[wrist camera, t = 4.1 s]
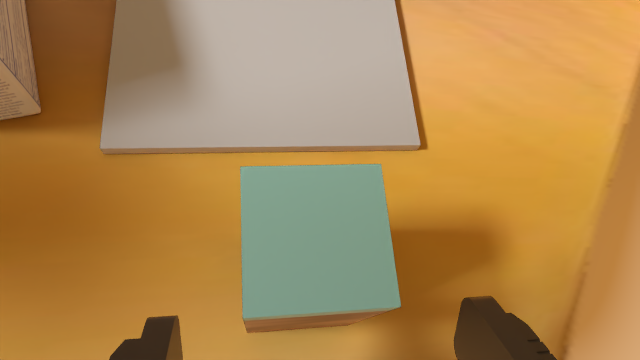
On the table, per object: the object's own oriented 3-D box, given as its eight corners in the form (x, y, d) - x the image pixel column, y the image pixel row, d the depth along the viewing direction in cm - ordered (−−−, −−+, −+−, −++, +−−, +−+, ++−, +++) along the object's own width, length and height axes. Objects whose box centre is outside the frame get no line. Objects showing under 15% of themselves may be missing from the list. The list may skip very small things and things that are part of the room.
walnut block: (247, 333, 19) (242, 317, 12) (245, 233, 21) (240, 166, 14) (347, 325, 20) (400, 307, 13) (338, 229, 22) (380, 163, 14)
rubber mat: (103, 153, 21) (99, 148, 21) (128, -69, 27) (125, -78, 26) (416, 150, 24) (420, 145, 23) (381, -54, 29) (383, -61, 29)
